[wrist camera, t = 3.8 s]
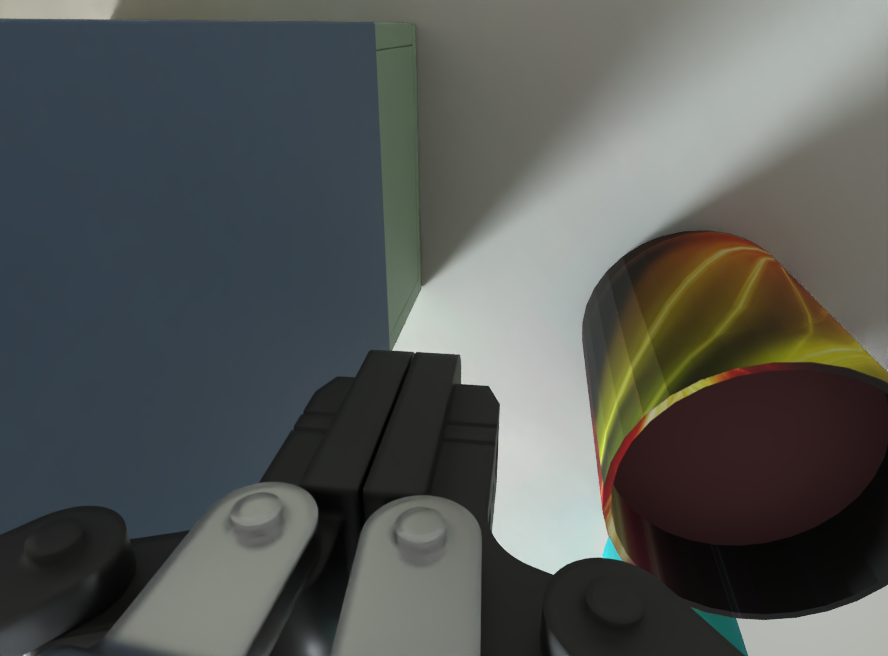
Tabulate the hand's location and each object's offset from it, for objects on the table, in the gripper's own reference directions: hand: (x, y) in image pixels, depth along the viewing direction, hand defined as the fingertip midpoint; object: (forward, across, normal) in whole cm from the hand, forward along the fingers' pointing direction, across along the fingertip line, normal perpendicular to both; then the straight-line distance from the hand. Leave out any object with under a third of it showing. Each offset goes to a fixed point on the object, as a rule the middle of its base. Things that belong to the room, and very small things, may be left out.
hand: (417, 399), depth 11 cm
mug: (+19, -11, +7) cm, 23 cm away
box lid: (+4, +5, 0) cm, 7 cm away
